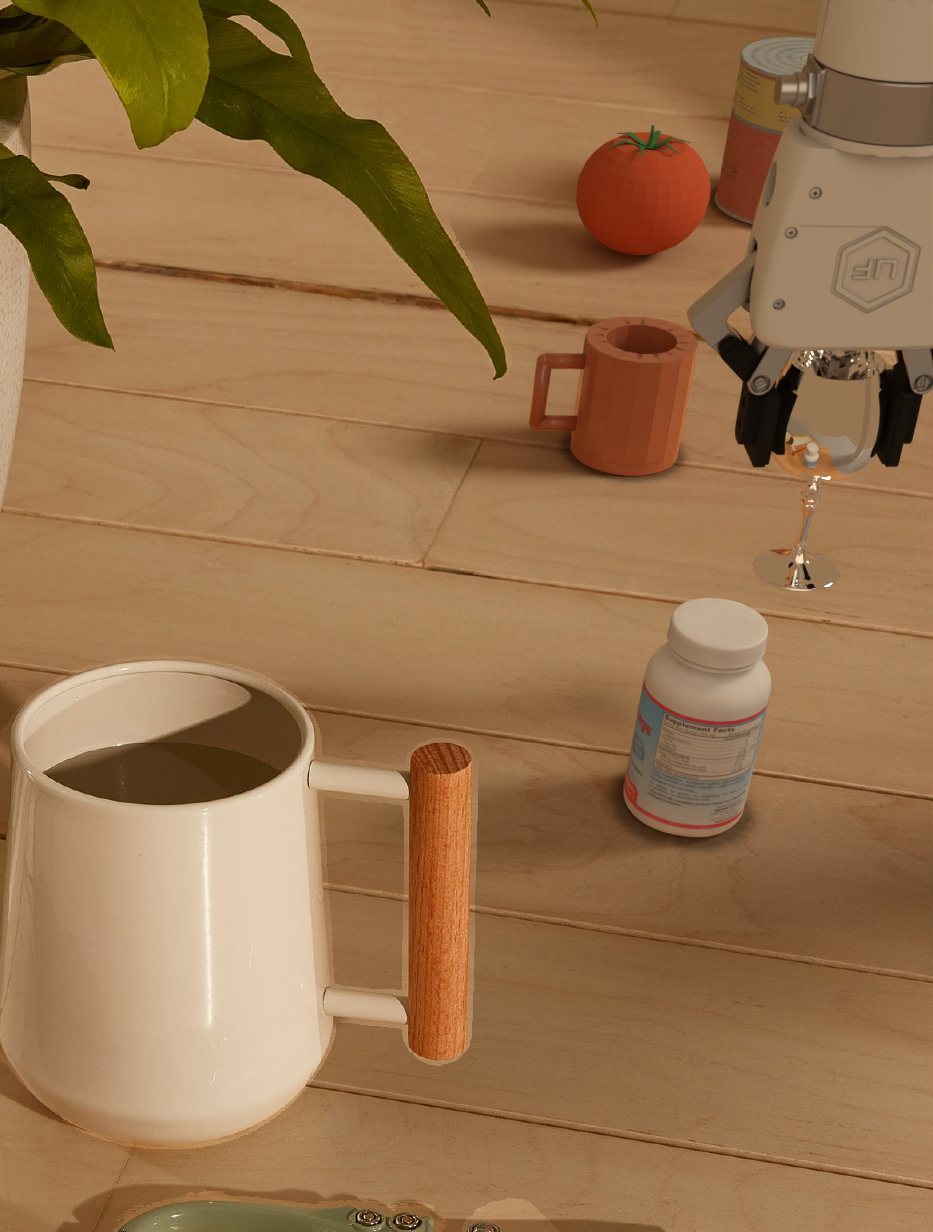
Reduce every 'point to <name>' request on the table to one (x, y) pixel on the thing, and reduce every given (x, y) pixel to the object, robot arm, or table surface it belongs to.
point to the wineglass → (823, 445)
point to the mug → (623, 394)
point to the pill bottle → (700, 720)
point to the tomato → (643, 192)
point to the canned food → (757, 122)
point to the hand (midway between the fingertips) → (819, 452)
